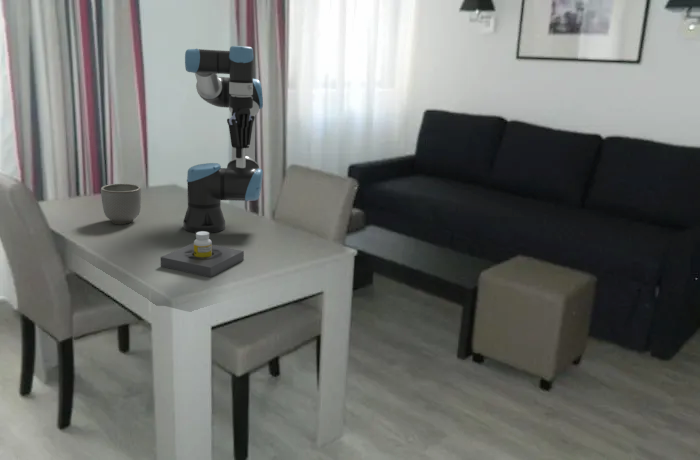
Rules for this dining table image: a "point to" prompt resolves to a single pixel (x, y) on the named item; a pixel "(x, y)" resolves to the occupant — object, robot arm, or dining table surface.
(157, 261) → the dining table surface
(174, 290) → the dining table surface
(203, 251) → the supplement bottle
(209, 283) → the dining table surface
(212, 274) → the holder plate
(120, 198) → the planter
